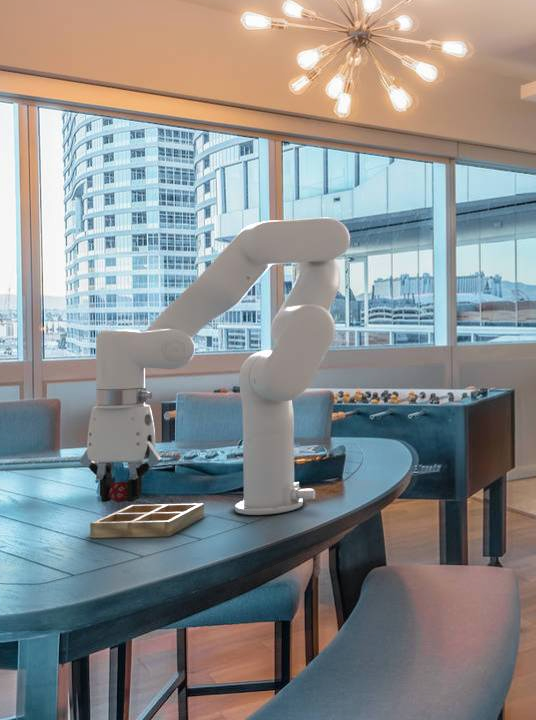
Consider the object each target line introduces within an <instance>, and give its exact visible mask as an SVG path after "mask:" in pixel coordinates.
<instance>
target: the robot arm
mask: <svg viewBox="0 0 536 720" xmlns="http://www.w3.org/2000/svg"><path fill="white" fill-rule="evenodd" d="M350 245H351V235H350V232H349V230H348V228H347V226H346V225H345V224H344V223H343V222H341V220H338V219H336V218H332V217H314V218H302V219H301V218H299V219H286V220H285V219H284V220H268V221H261V222H258V223H253V224H250V225H247V226H246V227H244V228H242V229H241V231H240V232H239V233H238V234H237V235H236V236H234V238H233V239H232V240H231V241H230V242H229V243H228V244H227V246H226V247H224V249H222V251H221V252H220V253H219V254H218V255H217V257H216V258H215V259H214V260H213V261H212V262H211V263H210V264H209V265H208V267H207V268H206V269H204V271H203V272H202V273H200V275H199V276H198V277H197V278H196V279H195V280H194V281H193V282H192V283H190V285H188V287H187V288H186V289H185V290H184V291H183V292H181V294H179V295H178V297H176V298H175V299H174V300H173V301H172V302H171V303H170V304H169V305H168V306H167V307H166V308H165V309H164V310H163V311H162V312H161V314H160V315H158V316H157V318H156V319H155V320H154V321H153V322H152V323H151V324H150V326H149V327H148V328H147V329H146V330H145V331H140V330H137V329H106V330H102V331H100V332H99V333H98V334H97V336H96V341H95V347H96V348H95V365H96V366H95V372H96V373H95V374H96V375H95V383H96V385H95V387H96V392H95V393H96V395H95V396H96V397H95V399H96V400H95V401H96V402H95V403H96V405H95V406H93V407H92V409H91V413H90V416H89V417H90V418H89V422H88V430H87V441H86V443H87V444H86V447H87V448H86V450H85V452H84V453H83V454H82V456H81V458H80V460H79V462H80V464H81V465H83V466H84V467H86V468H88V469H89V470H90V471H91V472H92V473H93V474H94V475H95V476H96V479H97V480H98V481H99V496H100V497H101V498H100V500H101V503H107V502H110V501H113V500H112V499H110V498H109V497H107V495H108V492H109V489H110V486H111V483H116V478H115V475H114V476H113V468H114V463H127V466H128V471H129V476H130V477H129V479H127V480H126V482H127V501H126V502H129V503H132V502H135V501H138V500H140V499H141V495H142V493H143V477H144V476H145V475H146V474H147V472H149V470H151V468H154V466H156V465H158V464H159V463H161V462H162V459H163V458H162V456H161V455H160V454H159V452H158V451H157V445H156V443H157V442H156V430H155V429H156V428H155V423H154V417H153V412H152V409H151V405H150V404H146V402H147V400H152V398H153V393H152V392H151V391H147V387H146V369H147V368H148V369H160V370H161V369H163V370H175V369H180V368H182V367H184V366H186V365H188V364H189V363H190V362H191V361H192V360H193V358H194V355H195V353H196V345H195V342H194V340H193V339H194V337H196V335H198V333H199V332H200V331H201V330H203V328H204V327H206V326H207V325H208V324H210V323H211V322H212V321H213V320H215V319H216V318H218V317H219V316H222V315H224V314H225V313H227V312H229V311H231V310H232V309H233V308H235V307H236V306H237V305H238V304H239V303H240V302H241V301H242V300H243V299H244V298H245V296H246V295H247V294H248V293H249V292H250V291H251V289H252V288H253V287H254V286H255V285H256V283H257V282H258V281H259V280H260V279H261V277H262V276H263V275H264V274H265V273H266V272H267V271H268V269H270V267H271V266H272V265H273V266H274V265H284V264H297V266H298V273H297V277H296V279H295V282H294V284H293V286H292V288H291V290H290V291H289V293H288V295H287V297H286V298H285V300H284V302H283V303H282V305H281V307H280V308H279V310H278V312H277V313H276V315H275V317H274V318H273V320H272V322H271V325H270V336H271V338H272V340H273V342H274V343H275V345H274V347H273V349H272V350H262V351H258V352H255V353H253V354H251V355H249V356H248V357H247V358H246V359H245V361H244V362H243V364H242V365H241V367H240V371H239V375H238V386H239V392H240V400H241V401H240V402H241V409H242V465H243V466H242V467H243V468H242V469H243V471H242V472H243V474H242V475H243V481H242V482H243V500H242V501H241V500H240V501H239V502H237V503H236V504H235V505H234V511H235V512H236V513H238V514H240V515H247V516H265V515H277V514H282V513H287V512H291V511H294V510H297V509H299V508H301V507H302V506H303V505H304V504H303V503H304V500H315V499H316V490H315V489H314V488H301V487H300V482H299V481H295V414H294V413H295V412H294V406H293V400H296V399H297V398H299V397H300V396H301V395H303V393H304V392H306V390H307V389H308V387H309V386H310V384H311V383H312V381H313V380H314V378H315V375H316V374H317V372H318V370H319V368H320V367H321V364H322V363H323V361H324V359H325V357H326V356H327V354H328V353H329V350H330V348H331V346H332V344H333V341H334V338H335V335H336V323H335V320H334V317H333V316H332V314H331V313H330V309H331V307H332V305H333V303H334V301H335V299H336V297H337V294H338V292H339V289H340V285H341V284H340V283H341V273H340V267H339V263H338V260H337V259H338V258H341V257H342V256H343V255H345V254H346V252H347V251H348V249H349V247H350ZM144 459H148V460H147V461H145V462H144Z"/></svg>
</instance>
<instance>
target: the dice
mask: <svg viewBox="0 0 536 720" xmlns="http://www.w3.org/2000/svg"><path fill="white" fill-rule="evenodd" d="M107 497H109V498H110V499H112V500H111V501H114V502H115V503H117V504H119V503H124V502H128V501H127V481H125V480H123V481H117V482H116V481H115V483H111V486H110V489H109V492H108V495H107Z"/></svg>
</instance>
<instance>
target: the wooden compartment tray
mask: <svg viewBox="0 0 536 720" xmlns="http://www.w3.org/2000/svg"><path fill="white" fill-rule="evenodd" d="M203 518H205V504H204V503H173V504H172V503H162V504H158V503H157V504H155V503H154V504H131V505H128V506H126V507H124V508H122V509H120V510H117V511H115V512H112V513H110V514H108V515H106V516H103V517H101V518H99V519H97V520H94V521H92V522H90V523H89V524H90V525H89V533H90V534H89V538H90V539H105V538H107V539H108V538H148V537H149V538H153V537H154V538H156V537H157V538H158V537H159V538H161V537H162V538H163V537H171V536H173V535H174V534H176V533H178V532H180V531H182V530H183V529H185V528H187V527H189V526H191V525H192V524H194V523H196V522H197V521H199V520H201V519H203Z"/></svg>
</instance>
